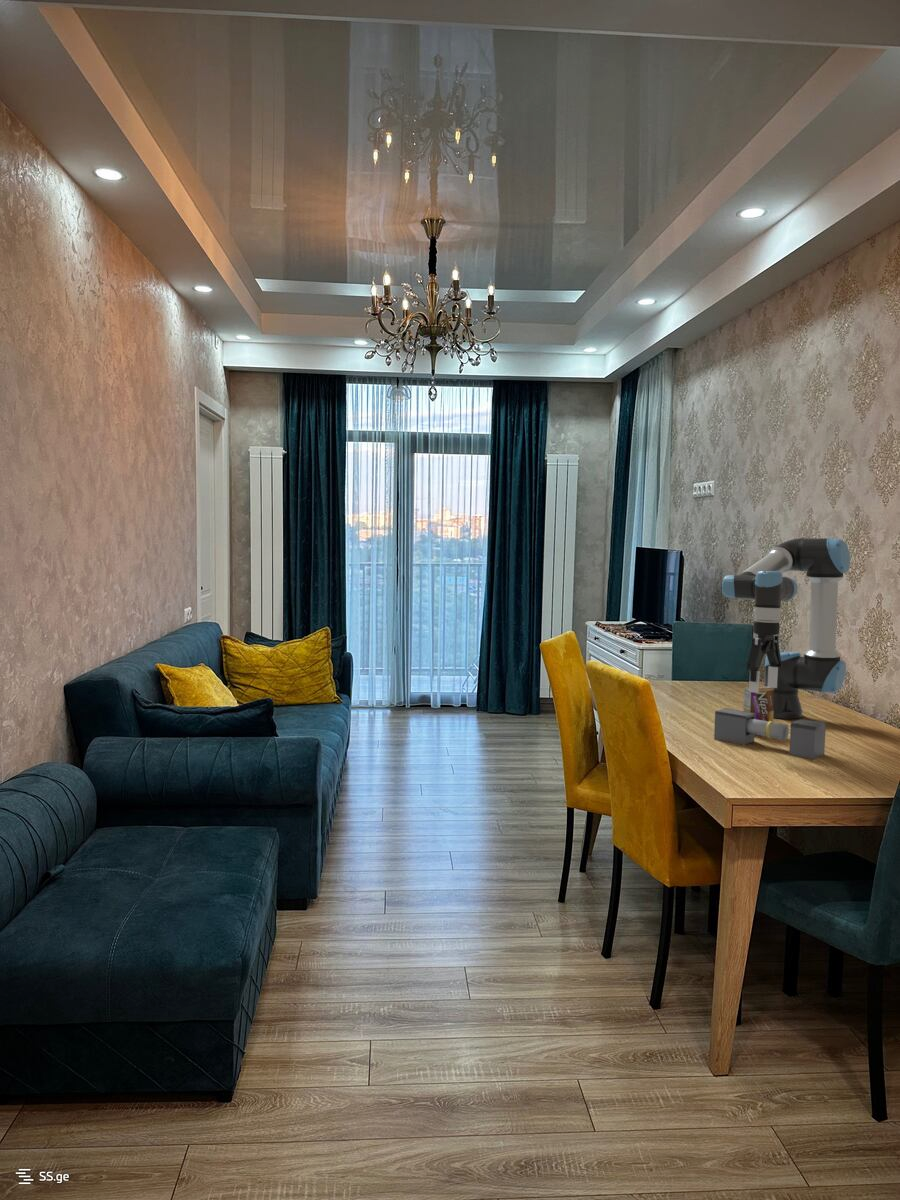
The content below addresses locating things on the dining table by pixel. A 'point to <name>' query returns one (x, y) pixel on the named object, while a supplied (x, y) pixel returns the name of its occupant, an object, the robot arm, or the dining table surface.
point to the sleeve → (733, 726)
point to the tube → (767, 728)
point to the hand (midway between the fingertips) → (763, 689)
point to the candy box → (760, 703)
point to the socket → (807, 738)
